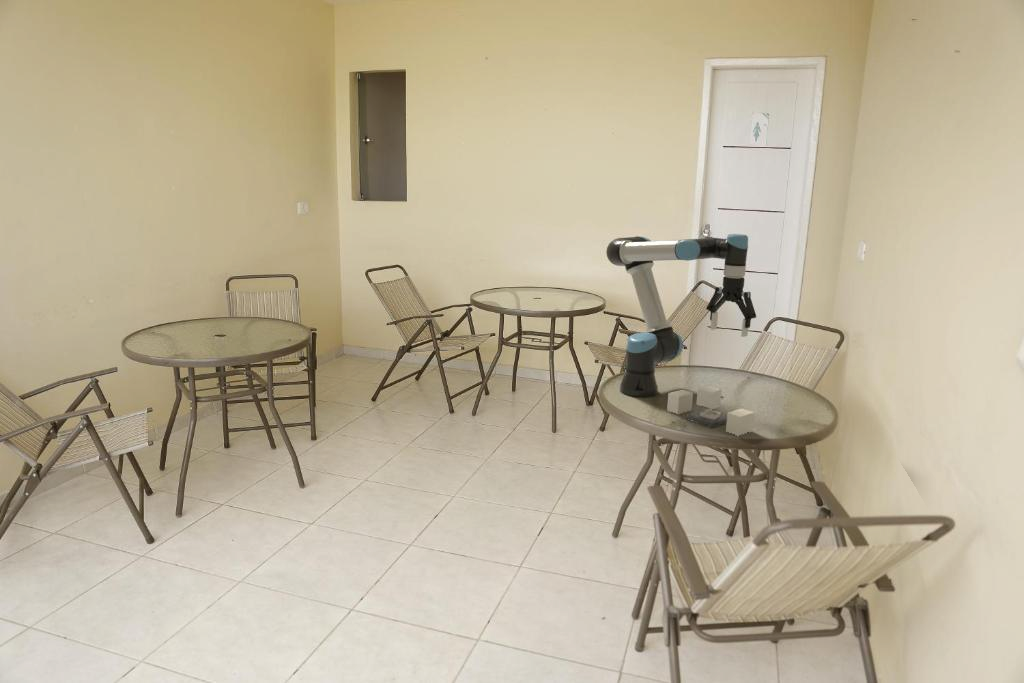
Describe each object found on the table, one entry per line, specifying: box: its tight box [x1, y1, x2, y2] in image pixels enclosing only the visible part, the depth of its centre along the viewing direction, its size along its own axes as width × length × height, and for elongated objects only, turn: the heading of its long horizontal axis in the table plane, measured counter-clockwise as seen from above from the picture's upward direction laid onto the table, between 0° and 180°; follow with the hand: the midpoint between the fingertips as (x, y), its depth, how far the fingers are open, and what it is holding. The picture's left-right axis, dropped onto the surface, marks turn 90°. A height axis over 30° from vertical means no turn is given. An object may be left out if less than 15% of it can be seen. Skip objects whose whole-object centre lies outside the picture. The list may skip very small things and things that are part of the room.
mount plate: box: [686, 408, 727, 429], centre depth 248 cm, size 11×10×2 cm
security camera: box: [696, 385, 722, 420], centre depth 247 cm, size 6×7×10 cm
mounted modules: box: [666, 389, 755, 436], centre depth 247 cm, size 31×8×7 cm, turn 37°
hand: (728, 332), depth 259 cm, fingers open, 13 cm apart
